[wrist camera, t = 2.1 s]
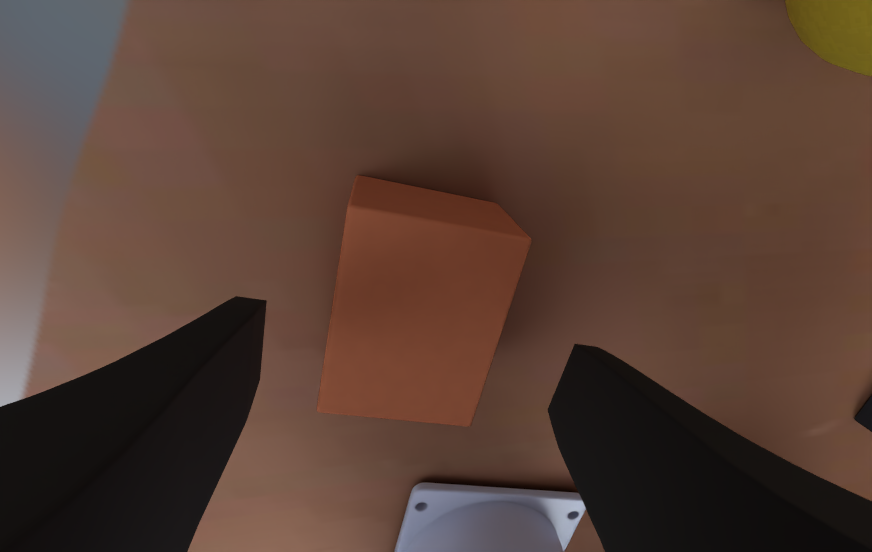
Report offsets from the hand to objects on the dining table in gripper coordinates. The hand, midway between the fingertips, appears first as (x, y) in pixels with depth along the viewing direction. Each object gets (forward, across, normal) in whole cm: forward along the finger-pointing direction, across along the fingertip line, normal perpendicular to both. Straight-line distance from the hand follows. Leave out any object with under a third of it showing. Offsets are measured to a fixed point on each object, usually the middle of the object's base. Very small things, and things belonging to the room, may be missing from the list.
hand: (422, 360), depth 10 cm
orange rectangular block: (+5, 0, 0) cm, 5 cm away
